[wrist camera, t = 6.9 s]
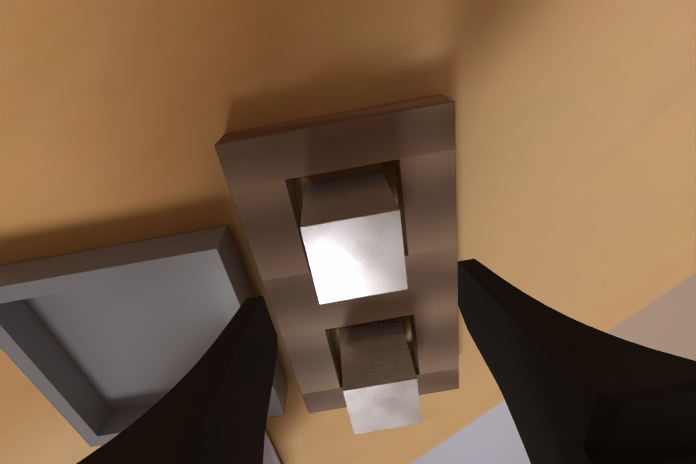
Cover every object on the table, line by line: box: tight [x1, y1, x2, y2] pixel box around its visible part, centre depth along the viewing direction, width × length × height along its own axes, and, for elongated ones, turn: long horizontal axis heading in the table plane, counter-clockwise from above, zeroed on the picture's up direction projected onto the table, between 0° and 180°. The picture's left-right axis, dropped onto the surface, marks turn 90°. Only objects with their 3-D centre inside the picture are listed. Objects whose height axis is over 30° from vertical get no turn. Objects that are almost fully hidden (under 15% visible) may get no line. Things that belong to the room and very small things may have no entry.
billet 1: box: [300, 163, 408, 304], centre depth 18 cm, size 4×4×6 cm
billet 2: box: [339, 317, 422, 434], centre depth 23 cm, size 4×4×6 cm
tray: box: [0, 226, 287, 447], centre depth 23 cm, size 14×14×2 cm
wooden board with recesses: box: [214, 95, 459, 413], centre depth 22 cm, size 20×11×2 cm, turn 9°
